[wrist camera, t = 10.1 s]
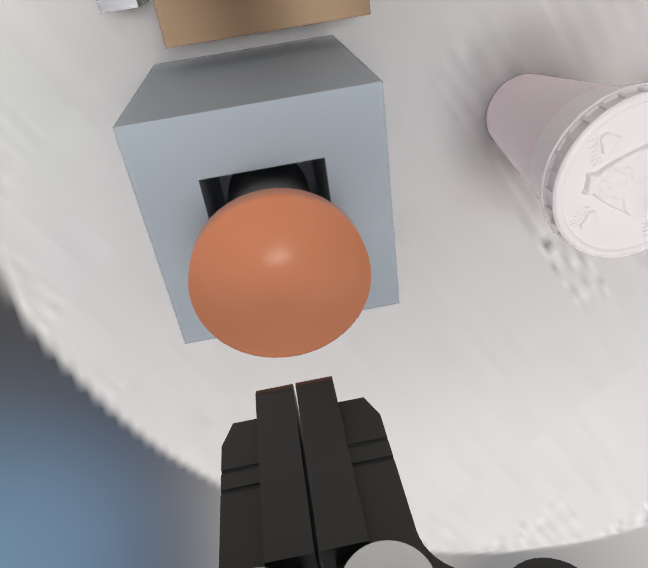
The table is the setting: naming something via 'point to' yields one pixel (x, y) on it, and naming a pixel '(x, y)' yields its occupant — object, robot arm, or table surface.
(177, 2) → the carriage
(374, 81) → the grey button box
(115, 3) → the rail
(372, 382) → the table surface
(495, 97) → the smoothie
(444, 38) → the table surface
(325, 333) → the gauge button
